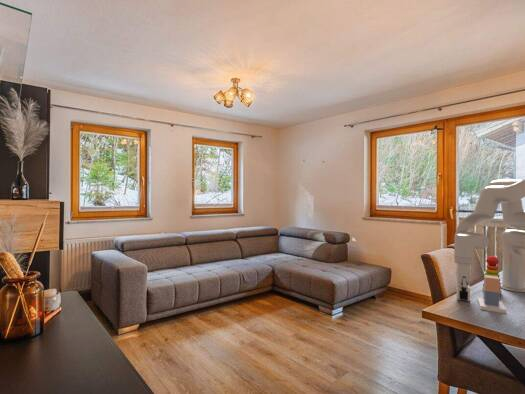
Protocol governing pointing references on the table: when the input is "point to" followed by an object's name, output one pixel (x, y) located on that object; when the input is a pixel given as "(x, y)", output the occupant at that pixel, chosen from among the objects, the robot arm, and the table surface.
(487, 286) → the terracotta brick
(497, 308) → the tower base
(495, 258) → the stacking toy
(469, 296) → the cream brick
